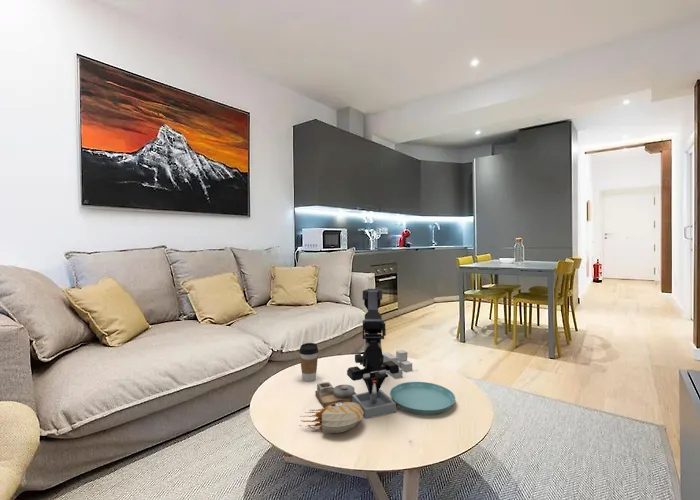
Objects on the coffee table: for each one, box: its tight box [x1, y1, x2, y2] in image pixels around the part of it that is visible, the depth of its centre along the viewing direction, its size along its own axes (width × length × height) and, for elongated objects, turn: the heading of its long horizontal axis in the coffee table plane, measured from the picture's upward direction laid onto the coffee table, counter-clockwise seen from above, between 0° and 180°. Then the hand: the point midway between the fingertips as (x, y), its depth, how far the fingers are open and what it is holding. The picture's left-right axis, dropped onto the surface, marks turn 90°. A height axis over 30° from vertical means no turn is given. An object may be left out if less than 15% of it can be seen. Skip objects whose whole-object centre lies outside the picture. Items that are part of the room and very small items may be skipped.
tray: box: [352, 389, 397, 419], centre depth 133 cm, size 12×12×3 cm
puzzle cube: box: [382, 349, 413, 380], centre depth 166 cm, size 12×12×8 cm
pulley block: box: [314, 381, 357, 409], centre depth 140 cm, size 14×11×5 cm
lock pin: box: [370, 377, 378, 404], centre depth 132 cm, size 3×3×9 cm
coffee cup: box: [298, 342, 319, 383], centre depth 158 cm, size 8×8×15 cm
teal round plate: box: [389, 381, 456, 416], centre depth 137 cm, size 24×24×3 cm
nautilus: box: [299, 402, 364, 434], centre depth 120 cm, size 8×22×15 cm
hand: (373, 393), depth 132 cm, fingers closed on lock pin, 2 cm apart
